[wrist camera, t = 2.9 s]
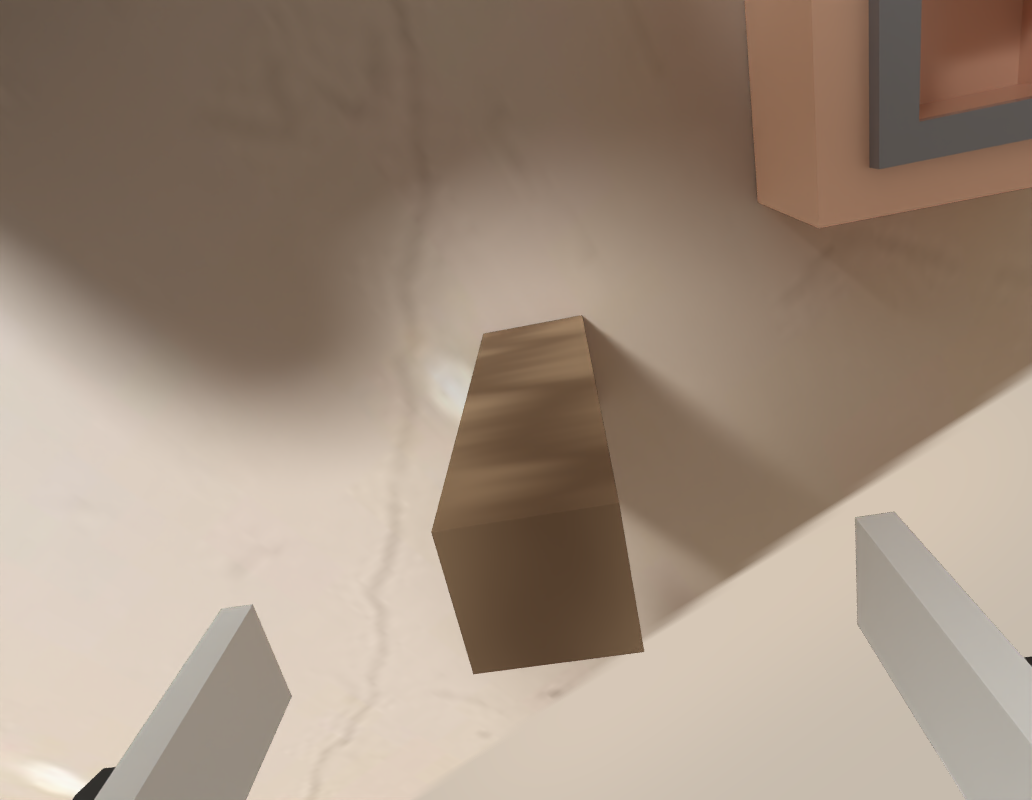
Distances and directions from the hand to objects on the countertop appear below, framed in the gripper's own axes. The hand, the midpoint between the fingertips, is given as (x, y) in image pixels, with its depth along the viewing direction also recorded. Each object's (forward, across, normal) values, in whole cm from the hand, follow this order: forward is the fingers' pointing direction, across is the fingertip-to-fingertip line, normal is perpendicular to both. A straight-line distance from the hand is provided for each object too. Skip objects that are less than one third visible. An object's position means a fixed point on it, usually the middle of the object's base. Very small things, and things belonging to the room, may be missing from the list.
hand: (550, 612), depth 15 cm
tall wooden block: (+14, 0, 0) cm, 14 cm away
